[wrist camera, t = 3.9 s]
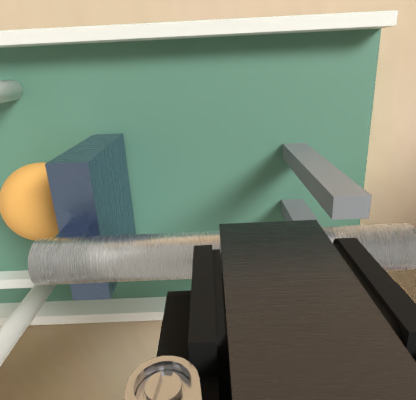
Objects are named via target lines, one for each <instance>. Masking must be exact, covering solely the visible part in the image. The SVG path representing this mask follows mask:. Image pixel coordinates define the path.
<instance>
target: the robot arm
mask: <svg viewBox="0 0 416 400" xmlns="http://www.w3.org/2000/svg"><path fill="white" fill-rule="evenodd" d="M333 245H334V246H335V248H336V249H337V250H338V252H339V253H340V255H341V256H342V258H343V259H344V260H345V262H346V263H347V265H348V266H349V268H350V269H351V270H352V272H353V273H354V275H355V276H356V278H357V279H358V280H359V282H360V283H361V285H362V286H363V288H364V289H365V290H366V292H367V293H368V295H369V296H370V298H371V299H372V300H373V302H374V303H375V305H376V306H377V308H378V309H379V310H380V312H381V313H382V315H383V316H384V317H385V319H386V320H387V322H388V323H389V325H390V326H391V327H392V329H393V330H394V332H395V333H396V335H397V336H398V337H399V339H400V340H401V342H402V343H403V345H404V346H405V347H406V349H407V350H408V352H409V353H410V355H411V356H412V357H413V359H414V360H415V362H416V304H415V303H414V302H413V301H412V299H411V298H410V297H409V296H408V295H407V294H406V293H405V291H404V290H403V289H402V288H401V287H400V286H399V285H398V284H397V283H396V282H395V281H394V280H393V279H392V278H391V277H390V276H389V275H388V273H387V272H386V271H385V270H384V269H383V268H382V267H381V265H380V264H379V263H378V262H377V261H376V260H375V259H374V258H373V256H372V255H371V254H370V253H369V252H368V251H367V250H366V248H365V247H364V246H363V245H362V244H361V243H360V242H359V240H358V239H357V238H335V239H334V241H333ZM124 400H230V391H229V366H228V344H227V330H226V318H225V306H224V294H223V282H222V270H221V258H220V249H213V250H212V245H196V246H194V249H193V266H192V283H191V290H186V291H168V292H167V297H166V303H165V309H164V315H163V321H162V327H161V333H160V339H159V345H158V352H157V357H156V358H152V359H150V360H148V361H146V362H144V363H142V364H141V365H140V366H139V367H137V368H136V369H135V370H134V371H133V373H132V374H131V375H130V377H129V378H128V381H127V384H126V388H125V396H124Z"/></svg>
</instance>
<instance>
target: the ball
mask: <svg viewBox="0 0 416 400" xmlns="http://www.w3.org/2000/svg"><path fill="white" fill-rule="evenodd" d="M45 164H46V163H45V162H39V163H32V164H28V165H25V166H23V167H21V168H19V169H17V170H16V171H14V172H13V173H12V174H11V175H10V176H9V177H8V178H7V179H6V181H5V182H4V184H3V186H2V188H1V191H0V213H1V216H2V218H3V220H4V221H5V223H6V224H7V226H8V227H9V228H10V229H11V230H12V231H14V232H15V233H16V234H18V235H20V236H21V237H24V238H26V239H29V240H34V241H35V240H36V239H40V238H55V237H56V235H57V234H58V233H59V230H58V225H57V220H56V215H55V210H54V206H53V201H52V196H51V191H50V186H49V182H48V177H47V172H46V167H45Z"/></svg>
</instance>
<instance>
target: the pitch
mask: <svg viewBox="0 0 416 400" xmlns="http://www.w3.org/2000/svg"><path fill="white" fill-rule="evenodd" d="M397 14H398V10H394V11H374V12H355V13H335V14H315V15H296V16H276V17H257V18H237V19H218V20H198V21H178V22H159V23H139V24H120V25H100V26H81V27H61V28H41V29H22V30H2V31H0V191H1V188H2V186H3V184H4V182H5V181H6V179H7V178H8V177H9V176H10V175H11V174H12V173H13V172H14V171H16V170H17V169H19V168H21V167H23V166H25V165H28V164H32V163H39V162H45V163H47V162H49V161H51V160H52V159H54V158H55V157H57V156H59V155H60V154H62V153H64V152H65V151H67V150H69V149H70V148H72V147H73V146H75V145H77V144H78V143H80V142H82V141H83V140H85V139H87V138H88V137H90V136H91V135H96V134H118V133H123V135H124V143H125V151H126V159H127V166H128V174H129V182H130V190H131V198H132V206H133V213H134V221H135V229H136V234H157V233H180V232H204V231H220V230H219V224H229V223H252V222H275V221H299V220H317V222H318V223H319V225H320V226H345V225H360V219H365V218H369V212H370V204H371V195H370V194H369V193H368V192H367V191H365V190H364V181H365V171H366V162H367V153H368V144H369V135H370V125H371V116H372V107H373V98H374V89H375V79H376V70H377V61H378V52H379V43H380V34H381V28H386V27H391V26H396V23H397ZM33 242H34V240H29V239H26V238H24V237H21V236H20V235H18V234H16V233H15V232H14V231H12V230H11V229H10V228H9V227H8V226H7V224H6V223H5V221H4V220H3V218H2V216H1V213H0V327H1V328H0V367H1V365H2V364H3V362H4V361H5V359H6V358H7V356H8V355H9V353H10V352H11V351H12V349H13V348H14V346H15V345H16V343H17V342H18V340H19V339H20V337H21V336H22V335H23V333H24V332H25V330H26V329H27V327H28V326H29V325H53V324H78V323H104V322H129V321H155V320H163V315H164V309H165V303H166V297H167V292H168V291H186V290H191V283H192V279H175V280H150V281H126V282H118V283H117V285H116V287H115V290H114V292H113V295H112V297H111V299H102V300H77V301H73V297H72V292H71V287H70V284H52V285H35V284H34V283H33V282H32V281H31V279H30V276H29V272H28V255H29V251H30V248H31V245H32V244H33Z"/></svg>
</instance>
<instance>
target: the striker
mask: <svg viewBox="0 0 416 400" xmlns="http://www.w3.org/2000/svg"><path fill="white" fill-rule="evenodd" d="M45 167H46V172H47V177H48V182H49V186H50V191H51V196H52V201H53V206H54V210H55V215H56V220H57V225H58V230H59V233H58V234H57V235H56V237H55V238H40V239H36V240H35V241H34V242H33V244H32V245H31V248H30V251H29V255H28V272H29V276H30V279H31V281H32V282H33V283H34V284H35V285H52V284H70V287H71V292H72V297H73V301H77V300H102V299H111V297H112V295H113V292H114V290H115V287H116V285H117V283H118V282H126V281H150V280H175V279H192V266H193V249H194V246H196V245H212V250H213V249H220V258H221V270H222V282H223V294H224V306H225V318H226V330H227V344H228V366H229V391H230V400H416V362H415V360H414V359H413V357H412V356H411V355H410V353H409V352H408V350H407V349H406V347H405V346H404V345H403V343H402V342H401V340H400V339H399V337H398V336H397V335H396V333H395V332H394V330H393V329H392V327H391V326H390V325H389V323H388V322H387V320H386V319H385V317H384V316H383V315H382V313H381V312H380V310H379V309H378V308H377V306H376V305H375V303H374V302H373V300H372V299H371V298H370V296H369V295H368V293H367V292H366V290H365V289H364V288H363V286H362V285H361V283H360V282H359V280H358V279H357V278H356V276H355V275H354V273H353V272H352V270H351V269H350V268H349V266H348V265H347V263H346V262H345V260H344V259H343V258H342V256H341V255H340V253H339V252H338V250H337V249H336V248H335V246H334V245H333V241H334V239H335V238H357V239H358V240H359V242H360V243H361V244H362V245H363V246H364V247H365V248H366V250H367V251H368V252H369V253H370V254H371V255H372V256H373V258H374V259H375V260H376V261H377V262H378V263H379V264H380V265H381V267H382V268H383V269H384V270H385V271H395V270H415V269H416V228H415V226H413V225H412V224H410V223H391V224H368V225H345V226H320V225H319V223H318V222H317V220H299V221H275V222H252V223H229V224H219V230H220V231H204V232H180V233H157V234H136V229H135V221H134V213H133V206H132V198H131V190H130V182H129V174H128V166H127V159H126V151H125V143H124V135H123V133H118V134H96V135H91V136H90V137H88V138H87V139H85V140H83V141H82V142H80V143H78V144H77V145H75V146H73V147H72V148H70V149H69V150H67V151H65V152H64V153H62V154H60V155H59V156H57V157H55V158H54V159H52V160H51V161H49V162H47V163H46V164H45Z"/></svg>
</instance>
